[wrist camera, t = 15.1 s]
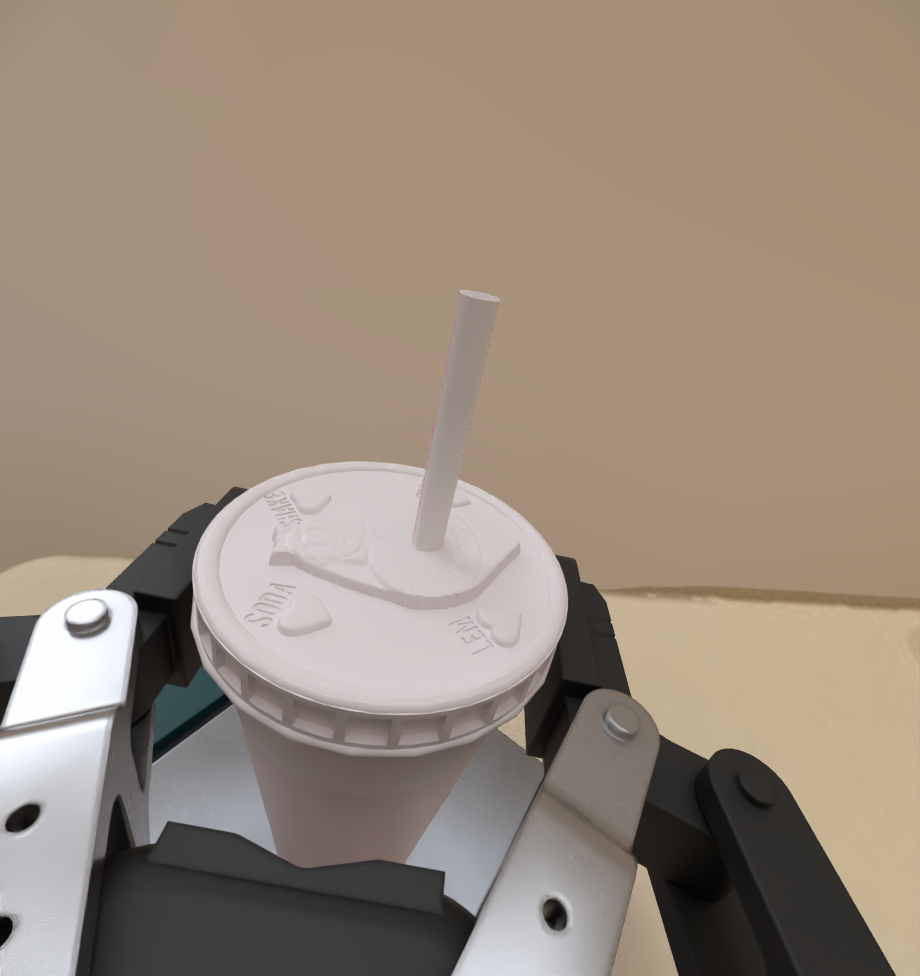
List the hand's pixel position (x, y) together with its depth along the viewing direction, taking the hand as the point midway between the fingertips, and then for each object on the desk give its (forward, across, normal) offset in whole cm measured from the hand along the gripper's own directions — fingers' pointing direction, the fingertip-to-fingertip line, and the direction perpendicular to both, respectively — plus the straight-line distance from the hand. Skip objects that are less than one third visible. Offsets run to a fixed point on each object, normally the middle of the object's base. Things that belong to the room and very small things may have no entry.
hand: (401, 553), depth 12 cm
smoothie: (-2, 0, +8) cm, 8 cm away
